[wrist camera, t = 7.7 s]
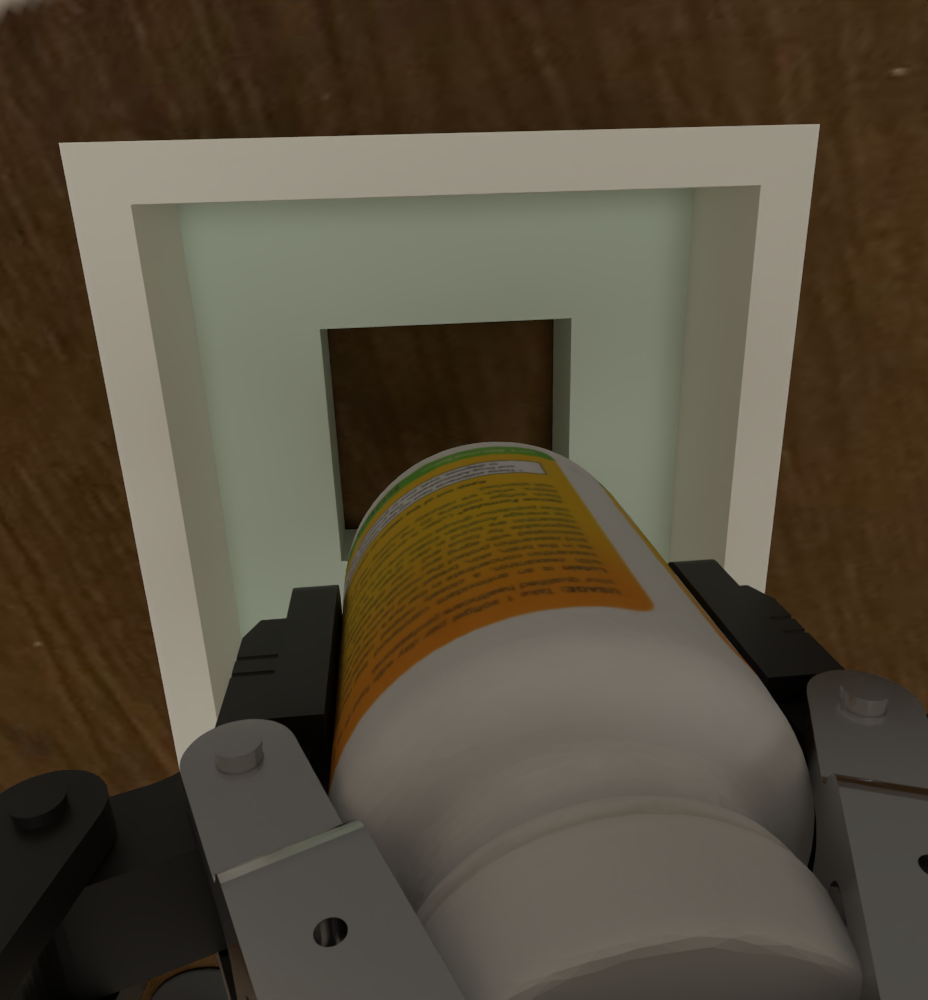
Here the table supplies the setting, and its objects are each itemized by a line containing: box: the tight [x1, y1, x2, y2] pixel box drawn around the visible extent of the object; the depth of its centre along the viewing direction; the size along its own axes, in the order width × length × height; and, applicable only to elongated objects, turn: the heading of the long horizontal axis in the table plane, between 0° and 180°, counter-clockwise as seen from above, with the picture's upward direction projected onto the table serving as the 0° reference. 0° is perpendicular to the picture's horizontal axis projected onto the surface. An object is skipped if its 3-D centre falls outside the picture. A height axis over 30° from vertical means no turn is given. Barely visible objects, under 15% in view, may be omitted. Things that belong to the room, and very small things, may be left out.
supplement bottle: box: [328, 442, 863, 1000], centre depth 10 cm, size 5×5×10 cm
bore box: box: [59, 124, 820, 769], centre depth 22 cm, size 16×16×6 cm
